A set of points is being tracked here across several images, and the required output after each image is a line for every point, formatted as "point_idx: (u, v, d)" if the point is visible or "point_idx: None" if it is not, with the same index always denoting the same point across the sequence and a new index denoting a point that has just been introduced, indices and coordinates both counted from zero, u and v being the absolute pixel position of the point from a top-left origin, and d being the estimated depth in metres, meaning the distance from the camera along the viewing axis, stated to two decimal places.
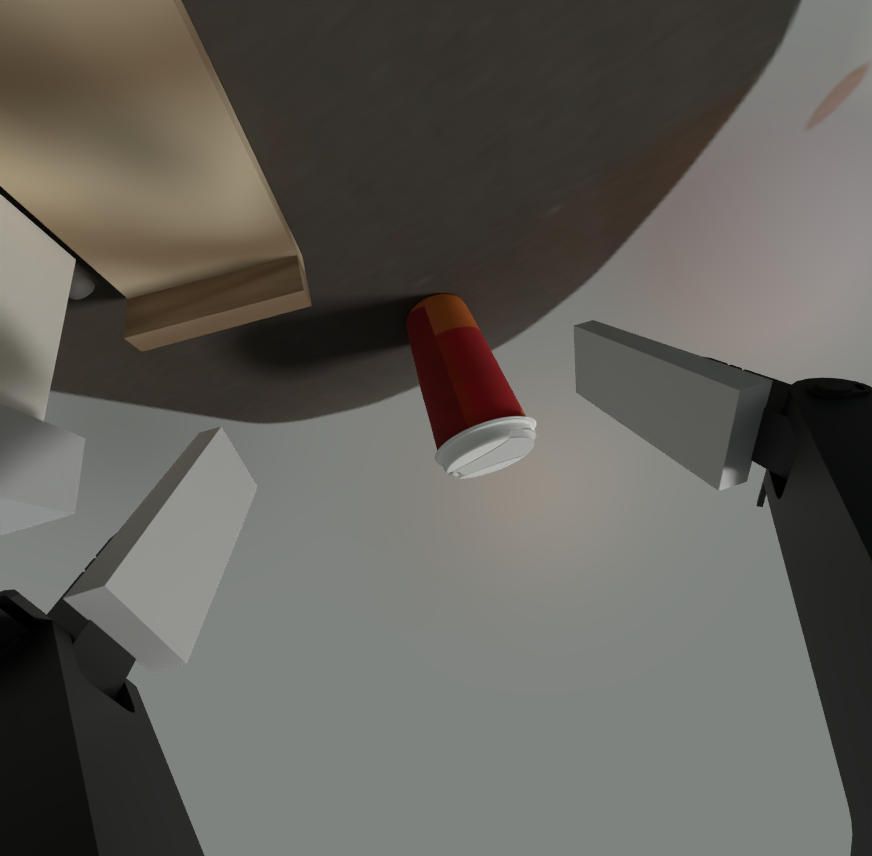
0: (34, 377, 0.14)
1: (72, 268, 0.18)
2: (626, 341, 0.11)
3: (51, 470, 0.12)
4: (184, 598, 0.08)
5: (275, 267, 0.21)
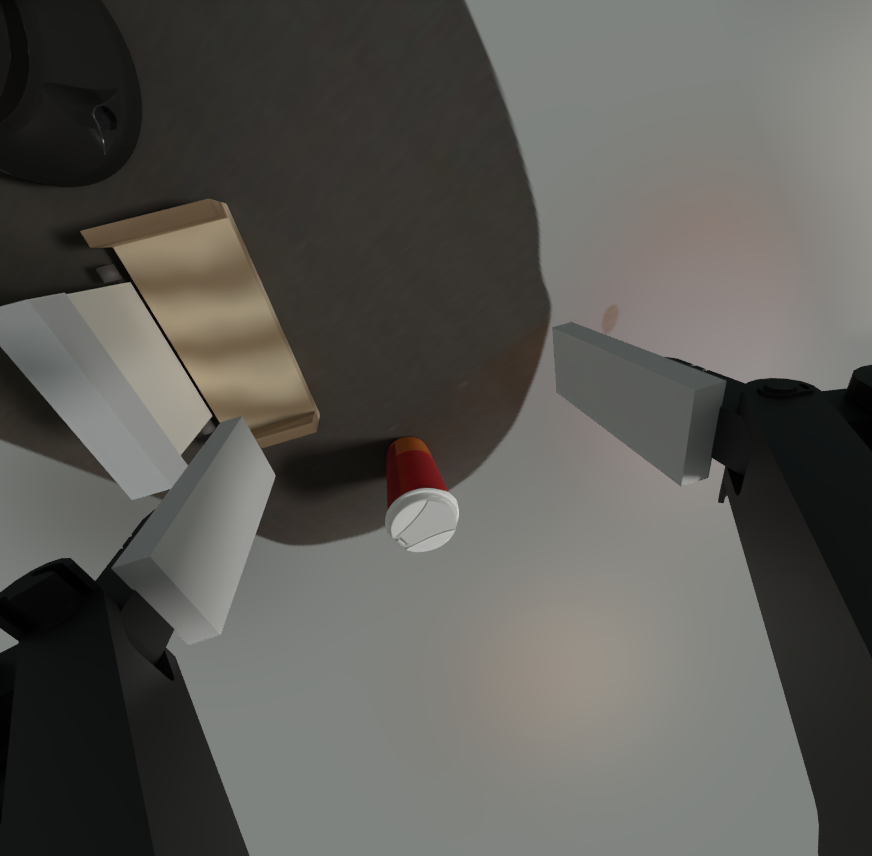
0: (178, 447, 0.32)
1: (209, 418, 0.39)
2: (598, 343, 0.11)
3: (172, 468, 0.28)
4: (216, 574, 0.09)
5: (302, 416, 0.41)
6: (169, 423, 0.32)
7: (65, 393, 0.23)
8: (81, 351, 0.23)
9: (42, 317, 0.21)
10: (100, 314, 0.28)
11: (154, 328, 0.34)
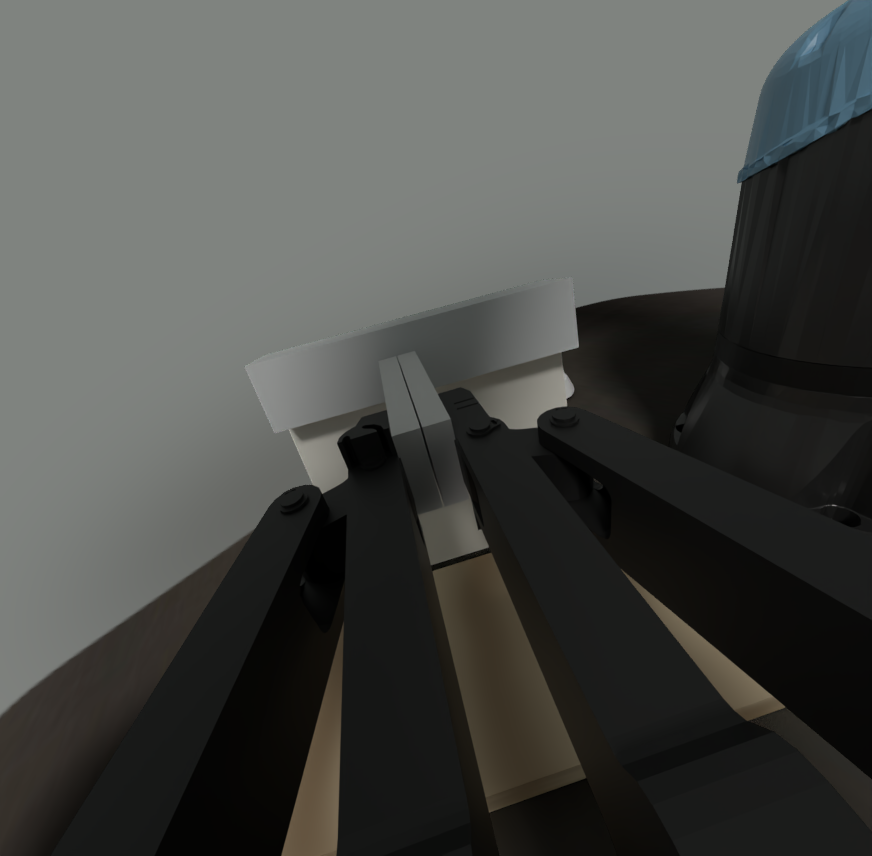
0: (320, 471, 0.18)
1: None
2: (410, 374, 0.12)
3: (281, 390, 0.15)
4: None
5: None
6: None
7: (442, 309, 0.17)
8: (499, 320, 0.15)
9: (549, 286, 0.15)
10: None
11: None
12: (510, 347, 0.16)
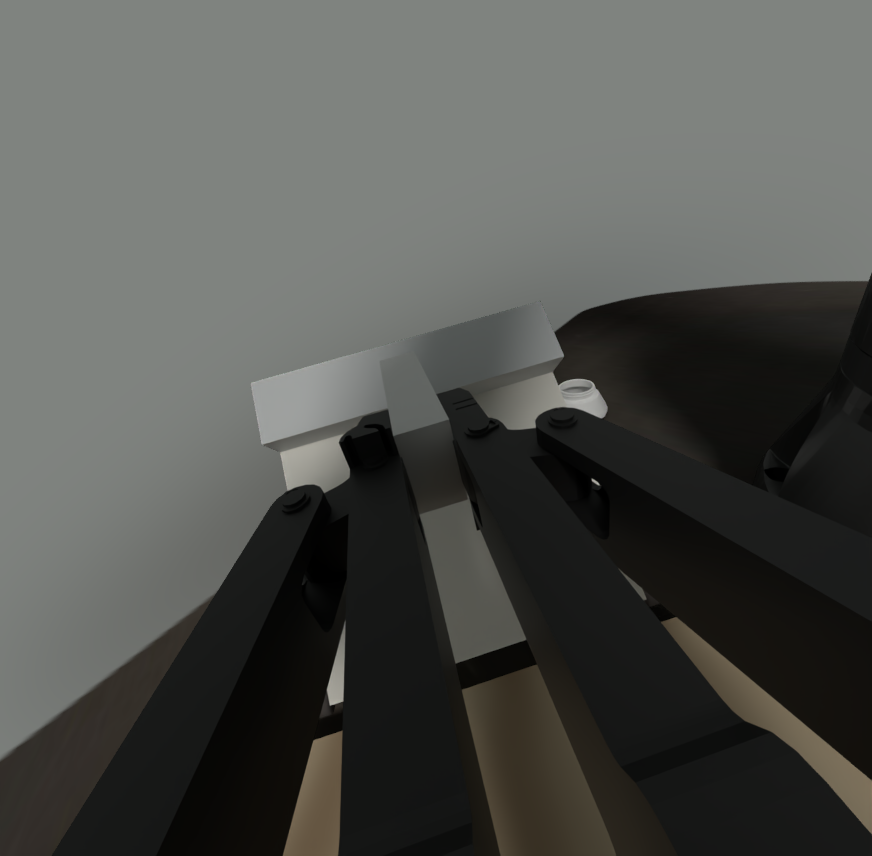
0: None
1: None
2: (409, 375, 0.12)
3: (277, 402, 0.16)
4: None
5: None
6: None
7: None
8: (479, 337, 0.17)
9: (520, 309, 0.17)
10: None
11: None
12: (493, 359, 0.16)
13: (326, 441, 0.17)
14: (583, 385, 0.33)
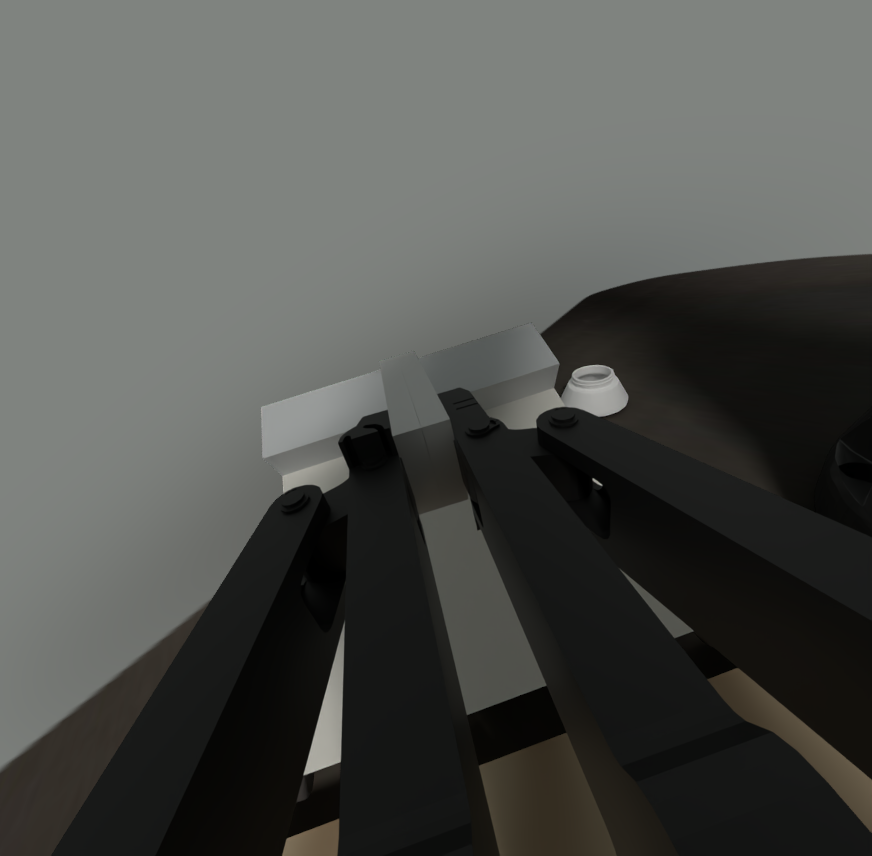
0: None
1: None
2: (410, 374, 0.12)
3: (282, 421, 0.17)
4: None
5: None
6: None
7: None
8: (474, 354, 0.18)
9: (513, 330, 0.18)
10: None
11: None
12: (488, 371, 0.17)
13: (328, 463, 0.17)
14: (600, 372, 0.29)
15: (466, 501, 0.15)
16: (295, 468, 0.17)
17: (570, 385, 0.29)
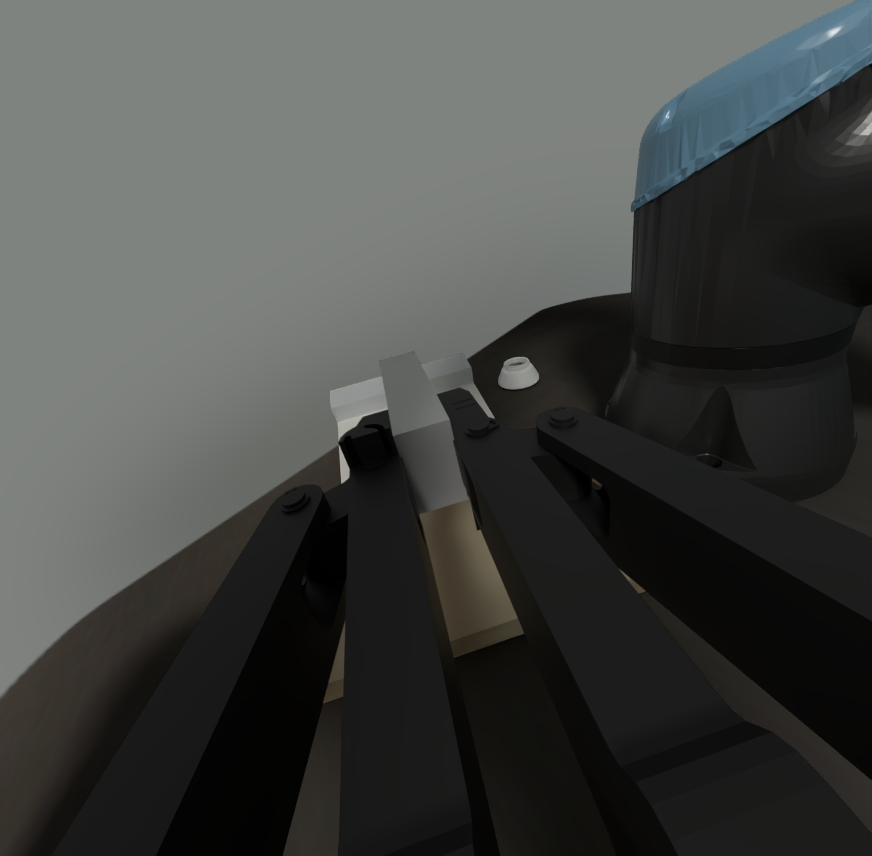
0: None
1: None
2: (409, 375, 0.12)
3: (340, 395, 0.35)
4: None
5: None
6: None
7: None
8: (433, 366, 0.36)
9: (453, 356, 0.37)
10: None
11: None
12: (438, 371, 0.35)
13: (360, 416, 0.35)
14: (522, 361, 0.45)
15: None
16: (344, 418, 0.35)
17: (503, 369, 0.45)
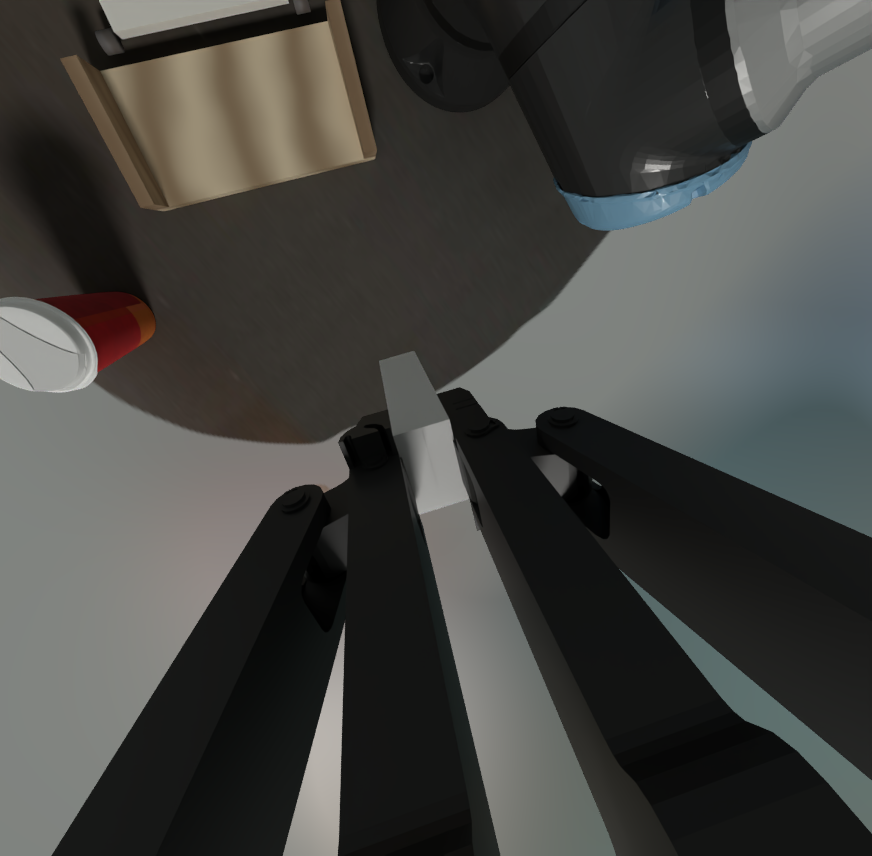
0: None
1: (108, 18, 0.28)
2: (410, 375, 0.12)
3: None
4: None
5: (158, 190, 0.34)
6: None
7: None
8: None
9: None
10: None
11: None
12: None
13: None
14: None
15: None
16: None
17: None
